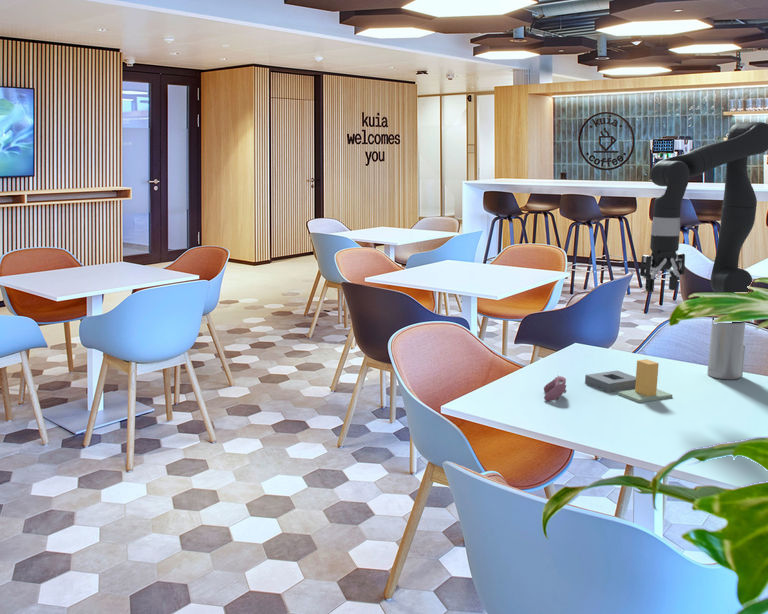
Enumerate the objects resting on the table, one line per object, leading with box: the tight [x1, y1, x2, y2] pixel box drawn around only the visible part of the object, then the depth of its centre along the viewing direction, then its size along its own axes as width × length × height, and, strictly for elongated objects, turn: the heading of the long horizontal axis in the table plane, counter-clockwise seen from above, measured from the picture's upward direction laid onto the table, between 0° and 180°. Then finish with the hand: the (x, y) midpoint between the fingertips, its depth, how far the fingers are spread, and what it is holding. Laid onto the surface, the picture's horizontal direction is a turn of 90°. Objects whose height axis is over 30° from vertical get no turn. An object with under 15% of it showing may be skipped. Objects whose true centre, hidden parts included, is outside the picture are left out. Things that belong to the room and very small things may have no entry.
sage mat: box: [618, 388, 673, 404], centre depth 218 cm, size 12×8×1 cm, turn 115°
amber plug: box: [634, 359, 659, 396], centre depth 217 cm, size 3×5×9 cm
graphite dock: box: [584, 370, 636, 393], centre depth 228 cm, size 12×10×2 cm
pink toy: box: [543, 375, 567, 402], centre depth 216 cm, size 10×5×7 cm, turn 169°
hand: (661, 290), depth 222 cm, fingers open, 8 cm apart
